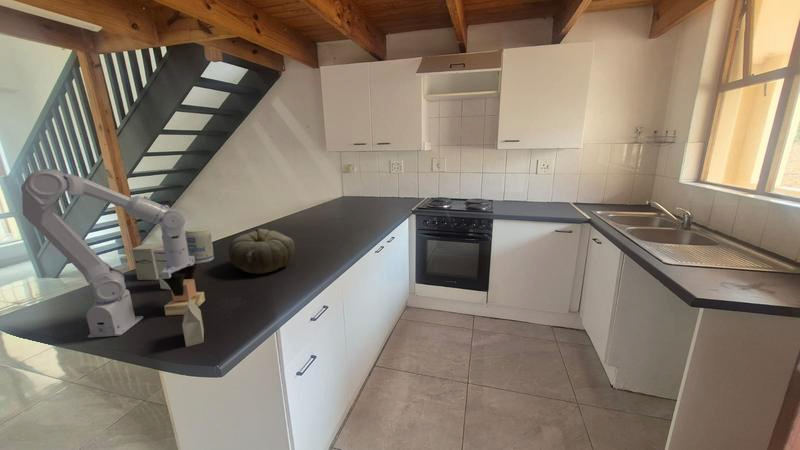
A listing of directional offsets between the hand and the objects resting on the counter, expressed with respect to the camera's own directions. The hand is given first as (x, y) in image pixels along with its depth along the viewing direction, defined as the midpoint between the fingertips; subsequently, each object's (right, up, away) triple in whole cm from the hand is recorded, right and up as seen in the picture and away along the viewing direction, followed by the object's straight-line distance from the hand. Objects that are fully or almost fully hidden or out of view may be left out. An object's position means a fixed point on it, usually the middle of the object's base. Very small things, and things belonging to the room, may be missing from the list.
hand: (183, 291), depth 97 cm
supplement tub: (-22, +4, +44) cm, 49 cm away
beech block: (0, -5, +1) cm, 5 cm away
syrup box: (-15, -2, +17) cm, 23 cm away
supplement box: (-30, 0, +26) cm, 39 cm away
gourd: (+11, +2, +35) cm, 37 cm away
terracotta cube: (0, -2, 0) cm, 2 cm away
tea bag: (+13, -9, -15) cm, 22 cm away
